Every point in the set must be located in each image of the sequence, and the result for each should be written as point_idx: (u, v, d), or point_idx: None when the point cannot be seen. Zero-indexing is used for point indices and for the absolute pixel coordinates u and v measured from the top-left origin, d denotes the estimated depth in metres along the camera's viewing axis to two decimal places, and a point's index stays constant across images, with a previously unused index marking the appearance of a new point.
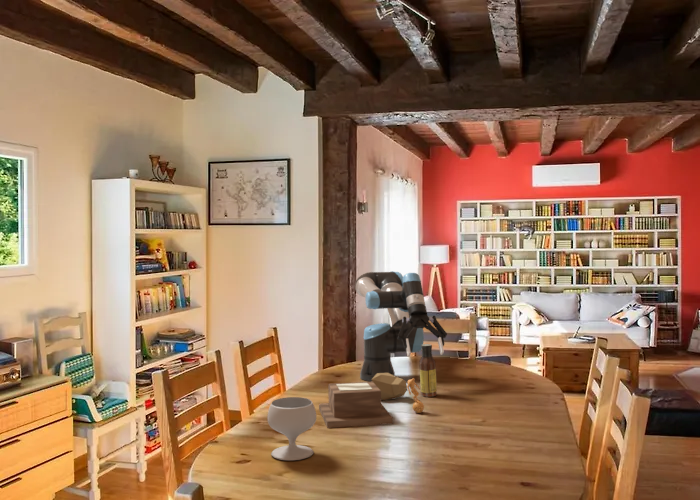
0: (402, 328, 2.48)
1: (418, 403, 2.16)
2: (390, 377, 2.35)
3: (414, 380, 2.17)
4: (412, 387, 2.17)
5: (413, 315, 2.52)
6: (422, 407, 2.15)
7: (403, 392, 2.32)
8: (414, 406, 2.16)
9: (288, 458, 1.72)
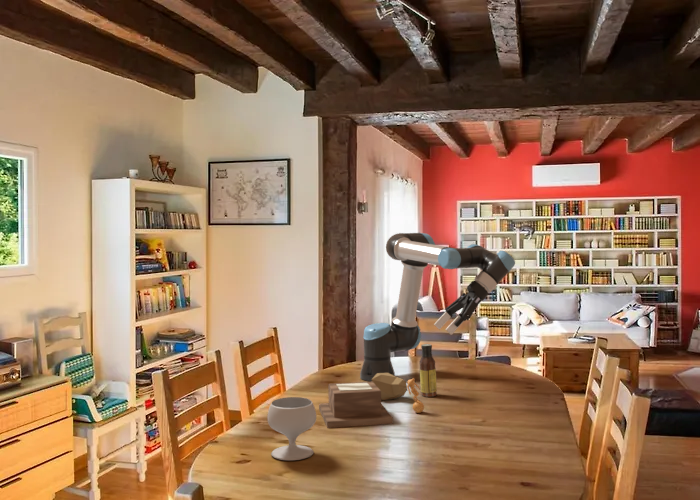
0: None
1: (418, 403, 2.16)
2: (390, 377, 2.35)
3: (414, 380, 2.17)
4: (412, 387, 2.17)
5: None
6: (422, 407, 2.15)
7: (403, 392, 2.32)
8: (414, 406, 2.16)
9: (288, 458, 1.72)
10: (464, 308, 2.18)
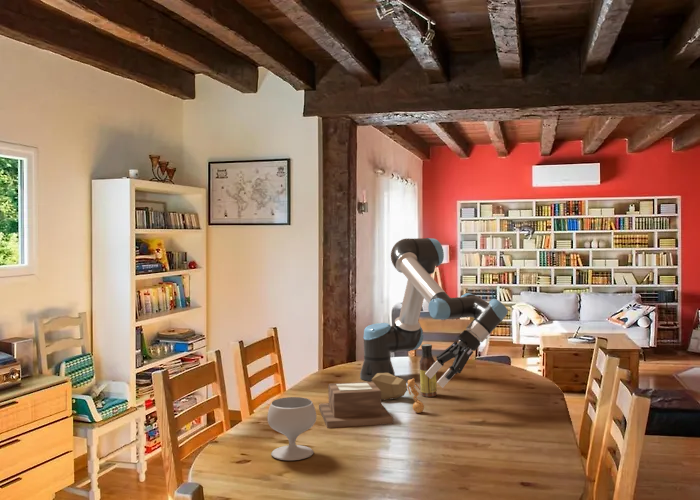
0: None
1: (418, 403, 2.16)
2: (390, 377, 2.35)
3: (414, 380, 2.17)
4: (412, 387, 2.17)
5: None
6: (422, 407, 2.15)
7: (403, 392, 2.32)
8: (414, 406, 2.16)
9: (288, 458, 1.72)
10: (456, 360, 2.12)
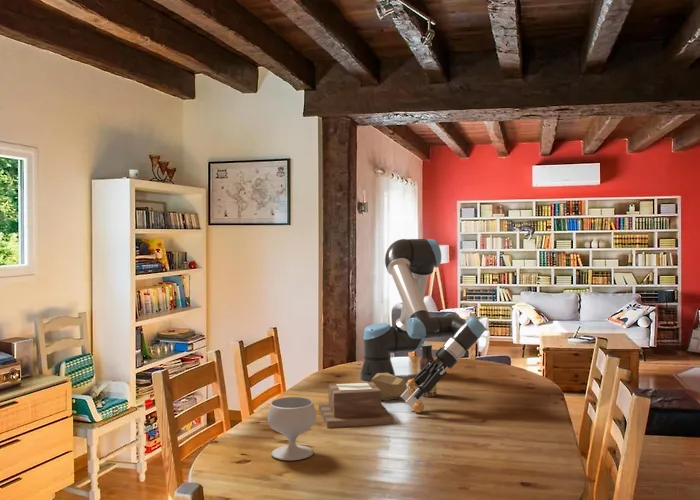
0: None
1: (418, 403, 2.16)
2: (390, 377, 2.35)
3: (414, 380, 2.17)
4: (412, 387, 2.17)
5: None
6: (422, 407, 2.15)
7: (403, 392, 2.32)
8: (414, 406, 2.16)
9: (288, 458, 1.72)
10: (427, 379, 2.14)
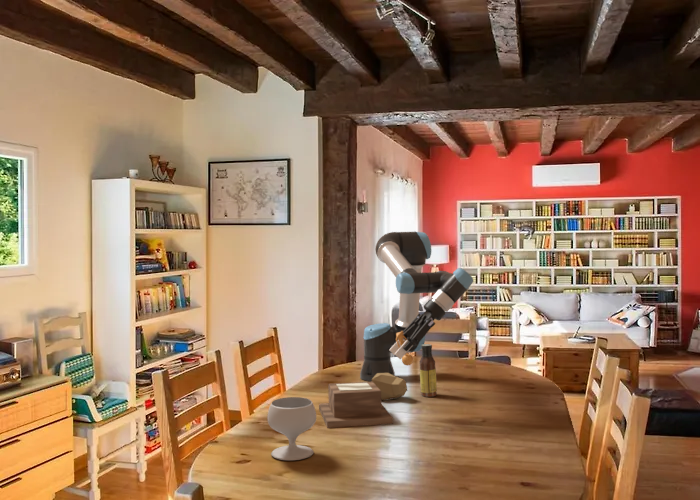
0: None
1: (407, 356, 2.13)
2: (390, 377, 2.35)
3: (403, 333, 2.14)
4: (401, 340, 2.15)
5: None
6: (411, 359, 2.13)
7: (403, 392, 2.32)
8: (403, 359, 2.13)
9: (288, 458, 1.72)
10: (415, 331, 2.12)
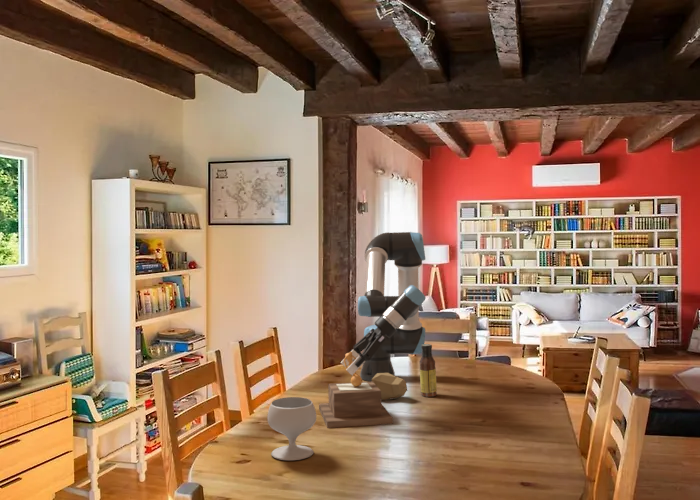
0: None
1: (355, 377, 2.12)
2: (390, 377, 2.35)
3: (351, 353, 2.13)
4: (350, 361, 2.13)
5: None
6: (359, 381, 2.12)
7: (403, 392, 2.32)
8: (351, 380, 2.12)
9: (288, 458, 1.72)
10: (367, 347, 2.08)
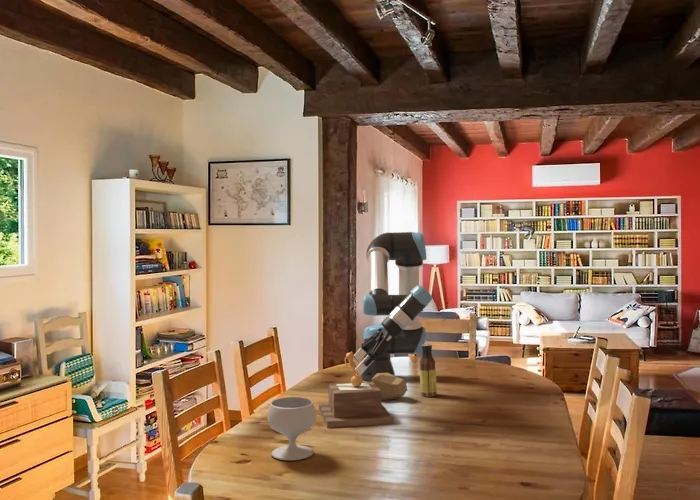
0: None
1: (356, 376, 2.12)
2: (390, 377, 2.35)
3: (352, 353, 2.14)
4: (350, 360, 2.14)
5: None
6: (360, 380, 2.12)
7: (403, 392, 2.32)
8: (352, 379, 2.12)
9: (288, 458, 1.72)
10: (375, 346, 2.08)
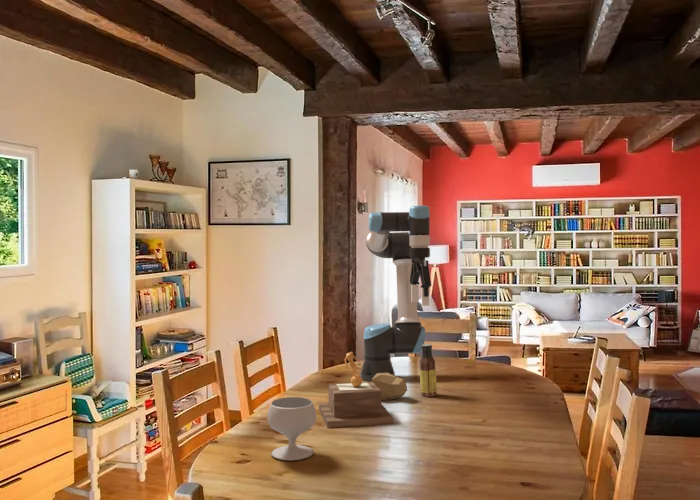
0: None
1: (356, 377, 2.12)
2: (390, 377, 2.35)
3: (352, 353, 2.14)
4: (350, 360, 2.14)
5: None
6: (360, 381, 2.12)
7: (403, 392, 2.32)
8: (352, 380, 2.12)
9: (288, 458, 1.72)
10: (421, 277, 2.25)
